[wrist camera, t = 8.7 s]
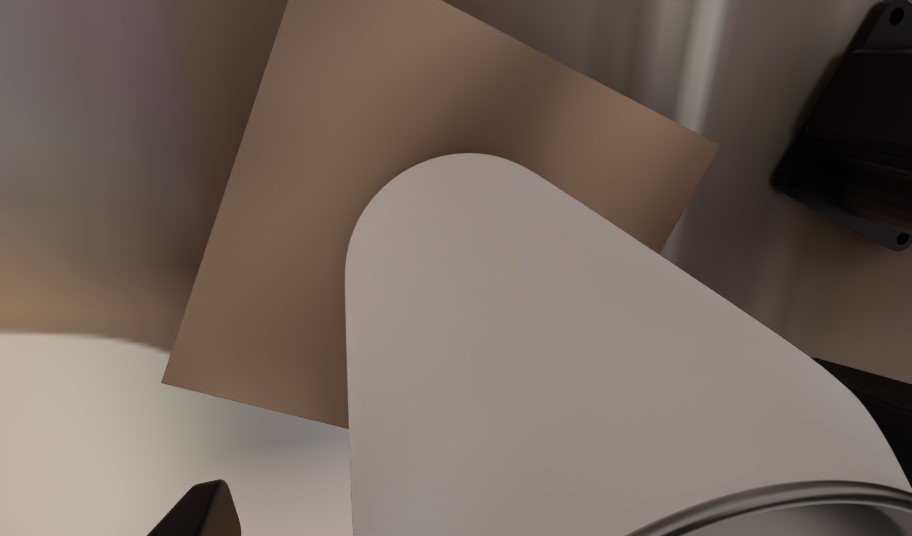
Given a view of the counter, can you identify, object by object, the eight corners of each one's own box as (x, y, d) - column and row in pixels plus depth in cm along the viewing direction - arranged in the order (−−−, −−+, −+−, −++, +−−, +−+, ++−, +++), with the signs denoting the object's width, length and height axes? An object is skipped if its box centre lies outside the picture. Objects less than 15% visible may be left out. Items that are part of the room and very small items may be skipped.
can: (537, 373, 18) (852, 893, 7) (328, 354, 16) (311, 991, 5) (597, 172, 16) (1178, 463, 5) (364, 126, 14) (456, 412, 3)
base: (681, 135, 18) (720, 145, 16) (516, 437, 21) (533, 474, 19) (314, -55, 14) (310, -68, 13) (179, 347, 18) (161, 382, 16)
